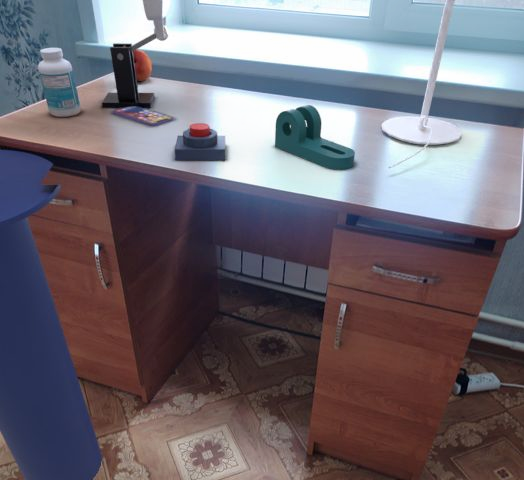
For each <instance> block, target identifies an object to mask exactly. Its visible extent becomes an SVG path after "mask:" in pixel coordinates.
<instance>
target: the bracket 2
mask: <svg viewBox="0 0 524 480" xmlns="http://www.w3.org/2000/svg"><path fill="white" fill-rule="evenodd" d="M321 133H322V118H321V114H320V113H319V111H318V109H317V108H316V107H315V106H313V105H311V104H305V105H301V106H298V107H296V108H291V109H286V110H284V111H283V110H282V111H281V112H280V113H278V115H277V117H276V120H275V135H274V136H275V137H274V147H275V148H277V149H279V150H282V151H284V152H287V153H289V154H292V155H295V156H297V157H299V158H302V159H304V160H307V161H310V162H312V163H314V164H316V165H319V166H322V167H324V168H326V169H331V170H338V171H339V170H341V171H342V170H348V169H350V168H352V167H354V162H355V157H356V152H355V150H353V149H352V148H350V147H348V146H345V145H342V144H339V143H337V142H334V141H331V140H329V139H325V138H323V137H322V135H321Z"/></svg>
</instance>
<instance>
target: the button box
mask: <svg viewBox="0 0 524 480" xmlns="http://www.w3.org/2000/svg"><path fill="white" fill-rule="evenodd" d="M174 158H175V161H226V135H218V131H217V130H215V129H213V128H210V135H209V136H206V137H193V136H191V135H190V128H187V129H186V130H184V131H183V132H182V135H177V138H176V141H175V146H174Z"/></svg>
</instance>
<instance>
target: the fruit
mask: <svg viewBox="0 0 524 480" xmlns="http://www.w3.org/2000/svg"><path fill="white" fill-rule="evenodd" d="M133 57H134V65H135V72H136V80H137V82H145V81H147V80H149V78H150V77H151V75H152V69H153V68H152V67H153V64H152V60H151V59H150V56H149V55H148V54H147V53H146V52H145V51H142V50H141V49H136V50H134V51H133Z"/></svg>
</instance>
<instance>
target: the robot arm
mask: <svg viewBox="0 0 524 480" xmlns="http://www.w3.org/2000/svg"><path fill="white" fill-rule="evenodd" d="M142 4H143V10H144V14H145V18H146V19H147V21H153V26H154V29H155V30H156V40H158V39H164V28H163V25H165V26H166V27H167V13H168V12H169V9H170V8H171V0H142Z"/></svg>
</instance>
